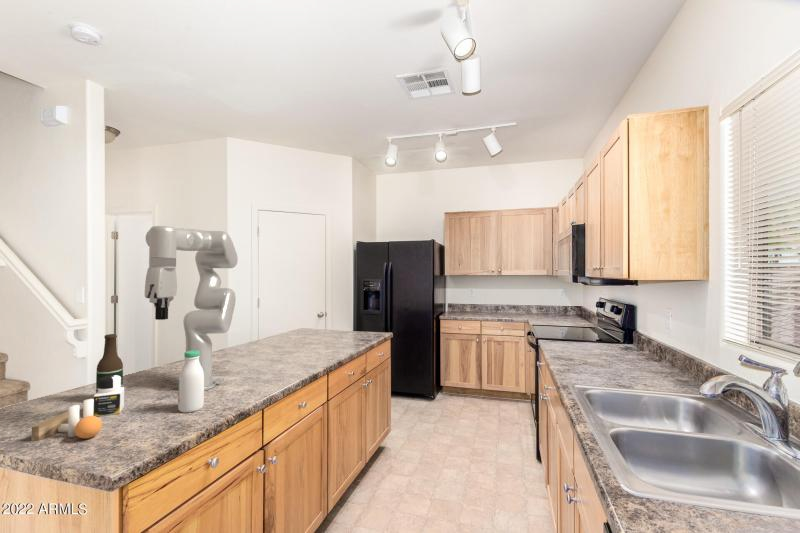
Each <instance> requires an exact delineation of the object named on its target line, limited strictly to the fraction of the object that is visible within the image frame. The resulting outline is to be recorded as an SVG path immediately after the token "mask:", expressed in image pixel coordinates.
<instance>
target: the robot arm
mask: <svg viewBox="0 0 800 533" xmlns="http://www.w3.org/2000/svg"><path fill="white" fill-rule="evenodd" d="M145 242H146V244H147V246H148V247H149V248H148V252H149V255H148V257H149V258H148V268H147V271H146V276H145V281H144V282H145V284H144V297H145V299H149V303H150V304H151V303H152V304H153V305H154V306H153V307H154V308H155V311H154V312H155V313H154V315H155V316H154V317H155V318H154V320H155V321H157V320H158V321H165V320H168V319H169V307H170V305H171V304H170V303H171V301H173V300H174V298H175V296H177V289H178V285H177V284H178V283H177V270H176V269H177V251H182V252H183V251H184V252H187V251H188V252H196V254H195V258H194V259H195V264H196V265H195V266H196V268H197V271H198V274H199V282H198V286H197V289H196V292H195V296H194V301H193V304H194V307H195V308H196V309H197V310H192V311H189V312H187V313H185V315H184V317H183V328H184V336H185V352H187V351H193V350H196V351H199V352H200V355H199V362H200V365H201V367H202V369H203V372H204V391H207V390H210V389H212V388H215V386H216V382H218V381H219V382H222V381H224V380H225V379H224V377H225V376H224V375H220V374H219V375H213V373H212V366H213V364H212V363H213V361H212V360H213V343H212V340H211V338H210V337H209V336H208V334H210V335H211V334H226V333H227V332H228V331H229V330H230V328H231V325H232V319H233V316H234V310H235V305H236V293H235V292H234V290H233V289H231V288H227V287H221V284H222V279H221V277H220V275H219V274H218V273H217V272H216V271H215V269H233V268H235V267H236V266H237V264H238V258H239V257H238V253H237V251H236V248H235V246H234V242H233V241H232V238H231V236H230V235H229V234H228V232H226V231H225V230H224V231H223V230H201V229H195V228H193V229H192V228H178V227H177V228H175V227H173V226H172V227H171V226H167V225H154V226H151V227H150V228H149V230H147V232H146V235H145Z"/></svg>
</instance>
